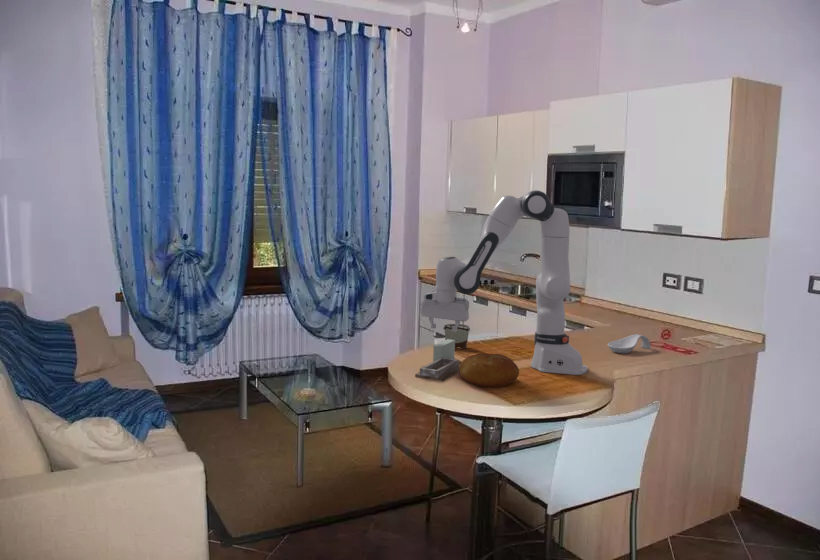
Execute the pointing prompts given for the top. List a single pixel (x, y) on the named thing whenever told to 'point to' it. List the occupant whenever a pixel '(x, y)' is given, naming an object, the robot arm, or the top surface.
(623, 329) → the top surface
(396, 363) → the top surface
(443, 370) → the grey rectangular tray
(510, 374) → the bread
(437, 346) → the pale green rectangular block
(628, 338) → the spoon rest
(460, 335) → the food container
